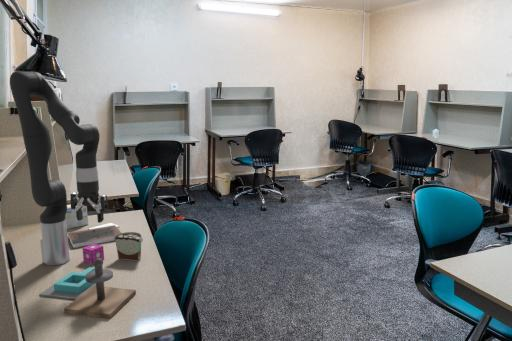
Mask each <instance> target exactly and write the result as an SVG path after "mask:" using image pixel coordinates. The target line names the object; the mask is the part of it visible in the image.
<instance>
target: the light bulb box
mask: <svg viewBox="0 0 512 341" xmlns="http://www.w3.org/2000/svg"><path fill="white" fill-rule="evenodd" d="M81 210H82V214H83V219H82V220H80V221H78V219H77V217H76V211H75V210H74V209H71V203H70V204H67V213H66V226H67V230H69V229H74V228H78V227H82V226H84V227H85V226H88V225H89V216H88V207H87V206H83V208H82V209H81Z"/></svg>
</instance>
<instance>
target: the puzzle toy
mask: <svg viewBox="0 0 512 341" xmlns="http://www.w3.org/2000/svg"><path fill="white" fill-rule="evenodd" d="M81 248H82V258H83V262H85V263H88V264H91V265H93V262H94V260H95V259H96V258H101V259H102V260H103V261H104V260H105V253H104V245H100V244H92V245H89V246H84V247H81Z"/></svg>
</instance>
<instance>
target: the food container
mask: <svg viewBox="0 0 512 341" xmlns="http://www.w3.org/2000/svg"><path fill="white" fill-rule="evenodd" d="M114 240H115V241H114V242H115V245H116V251H117V253H116V254H117V258H118V260H126V261H134V262H135V261H136V262H140V261H141V258H142V257H141V256H142V255H141V254H142V243H143V241H144V238H143V236H142V234H141V233H140V232H135V231H129V232H128V231H127V232H121V233H120V234H117V235H115V237H114Z"/></svg>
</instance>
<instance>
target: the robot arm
mask: <svg viewBox="0 0 512 341" xmlns="http://www.w3.org/2000/svg"><path fill="white" fill-rule="evenodd" d="M9 87H10V92H11V95H12V97H13V101H14V104H15V107H16V111H17V114H18V118H19V122H20V126H21V132H22V133H21V134H22V138H23V143H24V144H23V145H24V147H25V153H26V156H27V163H28V168H29V176H30V177H29V178H30V186H31V187H30V188H31V195H32V198H33V200H34V202H35V203H36V204H37V205H38V206H39V207H41V208H42V207H43V208H44V207H45V209H44V210H43V212H41V214H40V215H39V220H40V221H39V222H40V229H41V230H40V231H41V238H42V239H40V241H39V243H40V251H41V253H40V254H41V261H42V264H45V265H47V266H58V265H63V264H65V263H67V262H69V261H70V260H71V258H70V247H69V237H68V229H67V226H66V213H67V205H68V198H67V196H68V195H67V190H66V186H65V184H64V183H63V181H61V180H59V179H56V178H55V179H49V175H48V165H49V162H50V158H51V155H52V149H53V142H52V139H51V133H50V130H49V127H48V126H47V125H46V124H45V122H44V121H43V120H42V119H41V117H40V116H39V115H38V113H36V111H35V109H34V107H33V104H32V101H31V97H37V96H38V97H39V98H40V99H41V100H43V101H44V102H45V103H46V106H47V110H48V111H47V112H48V114H49V115H50V117H51V118H52V120H54V122H56V123H57V124H58V125H59V126H60V127H61V128H62V130H63V131H64V133H65V135H66V137H67V138H68V140H69V142H71V143H72V144H73V145H76V146H82V145H83V146H82V149H80V150H78V151H77V152H76V153H75V167H76V168H75V169H76V170H75V177H76V178H75V179H76V190H77V192H76V191H75V192H72V193H70V195H69V196H70V197H69V199H70V204H71V209H74V210H75V211H76V217H77V219H78V221H80V220H82V219H83V214H82V210H81V209H82V208H83V206H88V207H92V208H93V209H94V210H96V212H97V213H96V214H97V215H96V216H97V223H99V224H100V223H102V222H103V221H104V219H105V218H104V213H105V212H106V211H108V210H109V205H108V204H109V203H108V196H107V194H104V195H100V194H99V192H100V191H99V190H100V183H99V171H98V166H97V153H98V149H99V143H100V131H99V129H98V127H97V126H96V125H94V124H92V123H87V124H80V121H81V119H80V117H79V115H78V113H76V112H75V111H73V109H71V107H70V106H68V105H67V104H66V103H65V101H63V100H62V99H61V97H60V96H59V95H58V94H57V92H56V91H55V90H54V89H53V87H52V86H51V84H50V83H49V82H48V80H47V79H46V78H45V76H44V75H42V74H41V73H40V72H37V71H21V70H20V71H19V70H17V71H13V72H12V73H11V74H10V76H9ZM78 200H79V202H78Z"/></svg>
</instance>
